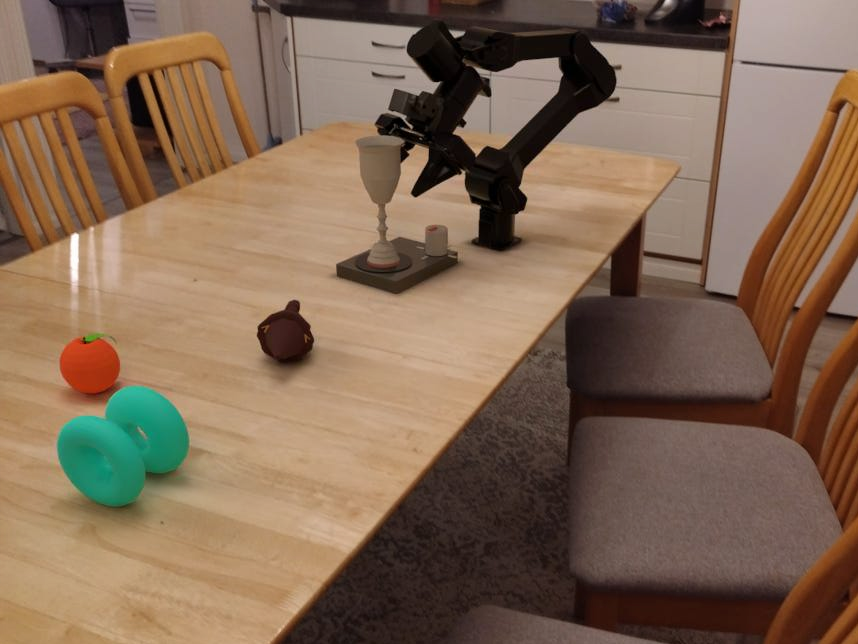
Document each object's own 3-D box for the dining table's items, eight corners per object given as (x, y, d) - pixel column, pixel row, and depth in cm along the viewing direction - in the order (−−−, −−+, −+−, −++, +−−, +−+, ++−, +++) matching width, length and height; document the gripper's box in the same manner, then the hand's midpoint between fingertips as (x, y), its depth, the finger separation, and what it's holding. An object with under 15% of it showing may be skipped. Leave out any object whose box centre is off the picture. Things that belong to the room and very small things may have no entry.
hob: (405, 245, 169) (404, 233, 168) (470, 263, 163) (470, 250, 161) (336, 276, 157) (335, 262, 156) (403, 296, 150) (403, 282, 149)
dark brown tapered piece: (312, 338, 122) (325, 300, 136) (252, 323, 121) (270, 287, 134) (302, 389, 126) (315, 347, 139) (243, 375, 124) (261, 334, 138)
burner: (379, 248, 162) (379, 247, 162) (423, 260, 158) (423, 259, 157) (342, 264, 156) (342, 263, 155) (387, 277, 151) (387, 276, 151)
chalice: (379, 270, 153) (374, 150, 143) (351, 258, 157) (345, 141, 147) (415, 259, 157) (413, 142, 148) (387, 247, 161) (383, 133, 152)
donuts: (61, 498, 104) (40, 414, 98) (127, 453, 111) (110, 372, 106) (139, 522, 100) (121, 436, 95) (200, 474, 108) (187, 392, 103)
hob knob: (434, 246, 163) (434, 221, 160) (452, 251, 161) (452, 225, 159) (420, 253, 160) (420, 227, 158) (438, 258, 158) (438, 231, 156)
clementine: (104, 369, 128) (93, 318, 124) (143, 382, 125) (133, 330, 122) (53, 394, 123) (40, 341, 119) (93, 408, 120) (81, 354, 116)
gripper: (381, 57, 151) (325, 143, 151) (461, 77, 140) (400, 171, 140) (423, 104, 160) (370, 185, 160) (501, 127, 148) (444, 215, 148)
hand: (394, 188), depth 152 cm, fingers open, 9 cm apart
